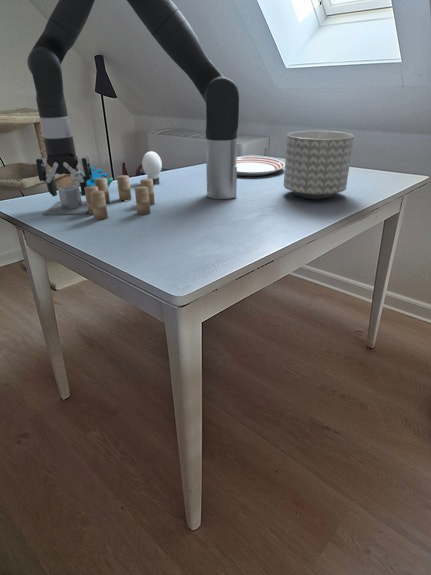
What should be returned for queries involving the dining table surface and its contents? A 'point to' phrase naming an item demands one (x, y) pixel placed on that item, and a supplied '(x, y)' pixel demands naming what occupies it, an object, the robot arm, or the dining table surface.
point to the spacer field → (100, 196)
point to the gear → (96, 175)
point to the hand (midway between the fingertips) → (69, 195)
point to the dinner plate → (257, 166)
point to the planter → (317, 163)
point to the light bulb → (152, 166)
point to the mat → (58, 210)
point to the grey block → (70, 197)
